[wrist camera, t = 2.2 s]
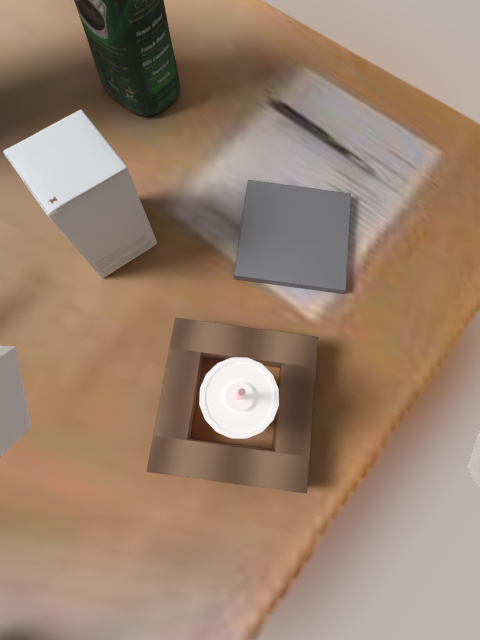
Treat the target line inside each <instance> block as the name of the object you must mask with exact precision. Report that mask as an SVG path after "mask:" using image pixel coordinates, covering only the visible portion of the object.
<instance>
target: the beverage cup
mask: <svg viewBox="0 0 480 640" xmlns="http://www.w3.org/2000/svg"><path fill="white" fill-rule="evenodd" d="M199 405H200V408H201V410H202V413H203V416H204V418H205V420H206V421H207V423H208V424H209V425H210V426H211V427H212V428H213V429H214V430H215V431H216V432H218V433H220V434H222V435H225V436H227V437H229V438H249V437H252V436H254V435H256V434H259V433H261V432H263V431H264V429H265V428H266V427H267V426H268V425H269V424H270V423H271V422H272V421H273V420H274V417H275V414H276V412H277V409H278V406H279V389H278V386H277V384H276V382H275V379H274V377H273V375H272V374H271V373H270V372H269V371H268V370H267V369H266V368H265V367H264V366H263V365H262V364H261V363H259V362H257V361H254V360H252V359H249V358H241V357H232V358H229V359H227V360H224V361H222V362H219V363H217V364H216V365H215V366H214V367H213V368H212V369H211V370H210V371H209V372H208V373H207V374H206V376H205V378H204V380H203V383H202V385H201V387H200V401H199Z"/></svg>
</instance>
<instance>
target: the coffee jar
mask: <svg viewBox="0 0 480 640" xmlns="http://www.w3.org/2000/svg"><path fill="white" fill-rule="evenodd" d="M74 1H75V4H76V7H77V10H78V12H79V15H80V18H81V21H82V24H83V27H84V30H85V33H86V36H87V39H88V42H89V45H90V48H91V52H92V55H93V58H94V61H95V64H96V67H97V70H98V73H99V76H100V79H101V82H102V84H103V87H104V88H105V90H106V91H107V92H108V93H109V94H110V95H111V96H112V97H113V98H114V99H115V100H116V101H117V102H119V103H120V104H121V105H122V106H124V107H125V108H127V109H128V110H130V111H131V112H133V113H135V114H137V115H139V116H150V115H154V114H156V113H159V112H161V111H163V110H164V109H166V108H167V107H168V106H169V105H170V104H171V103H172V102H173V101H174V100H175V99H176V97H177V96H178V94H179V91H180V83H179V77H178V71H177V65H176V61H175V56H174V52H173V47H172V42H171V38H170V33H169V28H168V22H167V17H166V11H165V6H164V1H163V0H74Z"/></svg>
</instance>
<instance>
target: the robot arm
mask: <svg viewBox="0 0 480 640" xmlns="http://www.w3.org/2000/svg"><path fill="white" fill-rule="evenodd" d="M31 427H32V426H31V421H30V416H29V411H28V406H27V401H26V396H25V391H24V386H23V381H22V376H21V370H20V365H19V360H18V355H17V350H16V347H10V346H0V457H1V456H2V455H3V454H4V453H5V452H6V451H7V450H8V449H9V448H10V447H11V446H12V445H13V444H14V443H15V442H16V441H17V440H18V439H19V438H20V437H21V436H22V435H23V434H24V433H25V432H26V431H28V430H29V429H30V428H31ZM467 471H468V472H469V474H470V475H471V477H472V478H473V480H474V481H475V483H476V484H477V486H478V487H479V489H480V430H479V433H478V436H477V439H476V442H475V445H474V448H473V451H472V455H471V458H470V461H469V464H468V467H467Z"/></svg>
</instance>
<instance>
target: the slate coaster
mask: <svg viewBox="0 0 480 640" xmlns="http://www.w3.org/2000/svg"><path fill="white" fill-rule="evenodd" d="M350 201H351V194H349V193H342V192H335V191H327V190H320V189H312V188H305V187H297V186H290V185H283V184H275V183H268V182H260V181H253V180H248V184H247V191H246V198H245V205H244V212H243V219H242V225H241V232H240V239H239V246H238V253H237V260H236V267H235V274H234V279H238V280H245V281H253V282H260V283H268V284H275V285H282V286H290V287H297V288H305V289H312V290H320V291H327V292H334V293H342V294H343V293H344V292H345V291H346V274H347V256H348V238H349V219H350Z"/></svg>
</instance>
